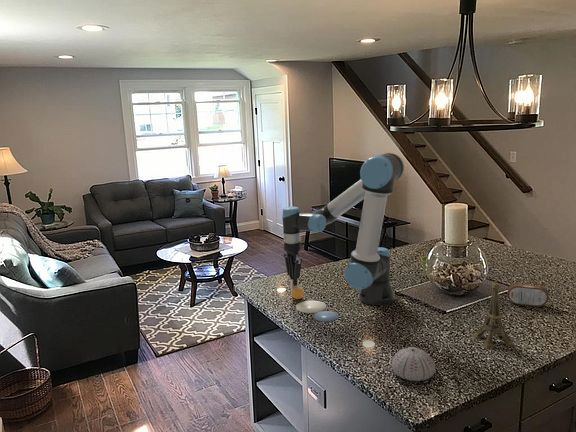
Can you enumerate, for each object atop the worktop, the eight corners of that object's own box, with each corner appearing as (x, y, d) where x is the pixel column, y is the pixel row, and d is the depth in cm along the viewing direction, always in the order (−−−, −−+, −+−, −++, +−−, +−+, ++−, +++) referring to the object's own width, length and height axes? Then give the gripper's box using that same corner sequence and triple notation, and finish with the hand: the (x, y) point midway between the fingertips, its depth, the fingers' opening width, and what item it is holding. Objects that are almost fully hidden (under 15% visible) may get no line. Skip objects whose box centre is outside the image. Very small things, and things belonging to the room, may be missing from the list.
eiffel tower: (471, 335, 170) (473, 268, 165) (500, 332, 171) (503, 266, 166) (486, 349, 160) (488, 278, 155) (516, 346, 161) (519, 276, 156)
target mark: (329, 302, 206) (329, 301, 206) (321, 314, 194) (321, 313, 194) (301, 299, 211) (301, 299, 211) (291, 311, 199) (291, 310, 199)
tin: (547, 305, 192) (549, 285, 190) (548, 308, 189) (549, 288, 187) (506, 301, 198) (507, 282, 196) (506, 304, 195) (507, 284, 193)
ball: (302, 292, 216) (307, 290, 211) (297, 302, 213) (302, 300, 208) (292, 285, 215) (297, 283, 210) (287, 295, 212) (292, 293, 208)
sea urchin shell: (386, 364, 154) (386, 341, 152) (427, 361, 155) (427, 338, 153) (397, 387, 141) (397, 362, 139) (442, 383, 142) (443, 358, 140)
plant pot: (441, 279, 227) (441, 262, 225) (421, 279, 229) (421, 261, 227) (439, 272, 236) (439, 256, 234) (419, 272, 238) (419, 256, 236)
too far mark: (341, 312, 195) (341, 312, 195) (334, 322, 186) (334, 322, 186) (317, 310, 199) (317, 309, 199) (310, 320, 189) (310, 319, 189)
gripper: (277, 239, 214) (280, 289, 219) (291, 246, 202) (293, 298, 207) (292, 237, 217) (294, 285, 222) (306, 243, 206) (308, 294, 211)
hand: (294, 291), depth 215 cm, fingers closed
